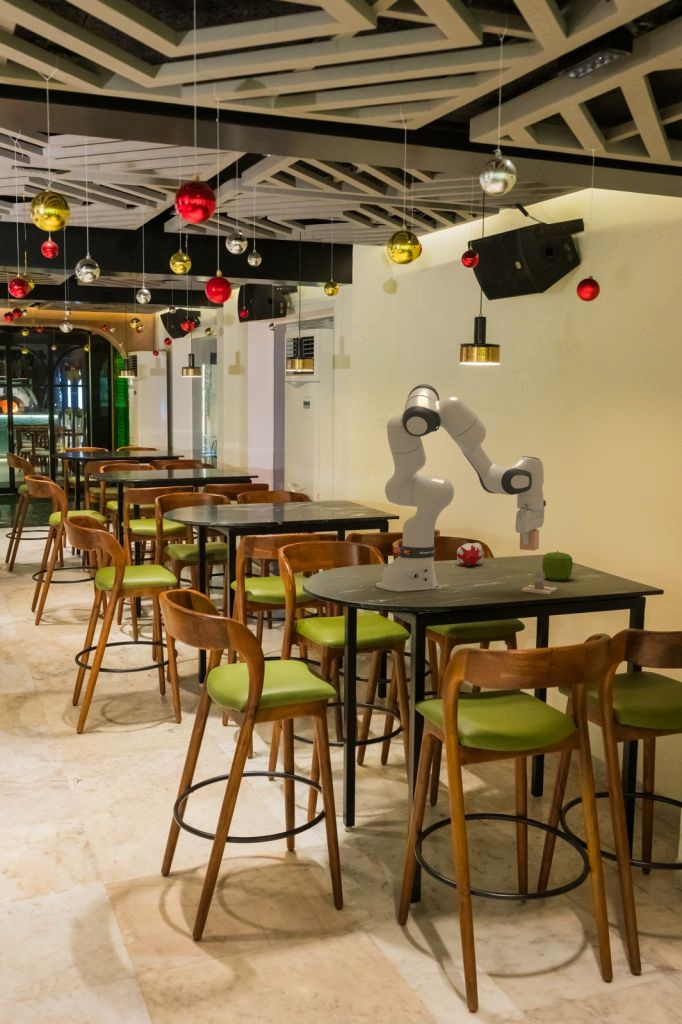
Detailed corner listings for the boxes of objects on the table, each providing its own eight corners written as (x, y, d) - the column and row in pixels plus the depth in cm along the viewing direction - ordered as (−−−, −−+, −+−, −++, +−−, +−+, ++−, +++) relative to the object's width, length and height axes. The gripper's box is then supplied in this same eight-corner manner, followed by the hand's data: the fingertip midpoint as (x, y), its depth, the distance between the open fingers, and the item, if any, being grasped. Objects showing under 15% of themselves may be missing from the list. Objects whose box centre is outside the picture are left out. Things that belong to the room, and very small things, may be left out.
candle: (481, 561, 379) (486, 571, 364) (453, 560, 379) (457, 571, 364) (482, 540, 377) (487, 550, 362) (454, 539, 377) (458, 549, 362)
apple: (576, 581, 336) (578, 552, 335) (549, 582, 334) (549, 552, 333) (564, 576, 347) (565, 548, 346) (537, 577, 345) (538, 548, 344)
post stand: (549, 594, 312) (550, 575, 311) (520, 591, 316) (521, 573, 316) (557, 589, 320) (558, 571, 320) (529, 586, 325) (530, 569, 325)
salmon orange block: (534, 550, 315) (534, 531, 314) (519, 549, 317) (520, 530, 317) (538, 548, 320) (539, 529, 319) (524, 547, 322) (524, 528, 321)
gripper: (529, 506, 306) (528, 547, 308) (547, 501, 324) (546, 539, 325) (511, 505, 309) (510, 546, 311) (530, 500, 327) (529, 538, 328)
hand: (529, 542), depth 318 cm, fingers closed on salmon orange block, 5 cm apart
